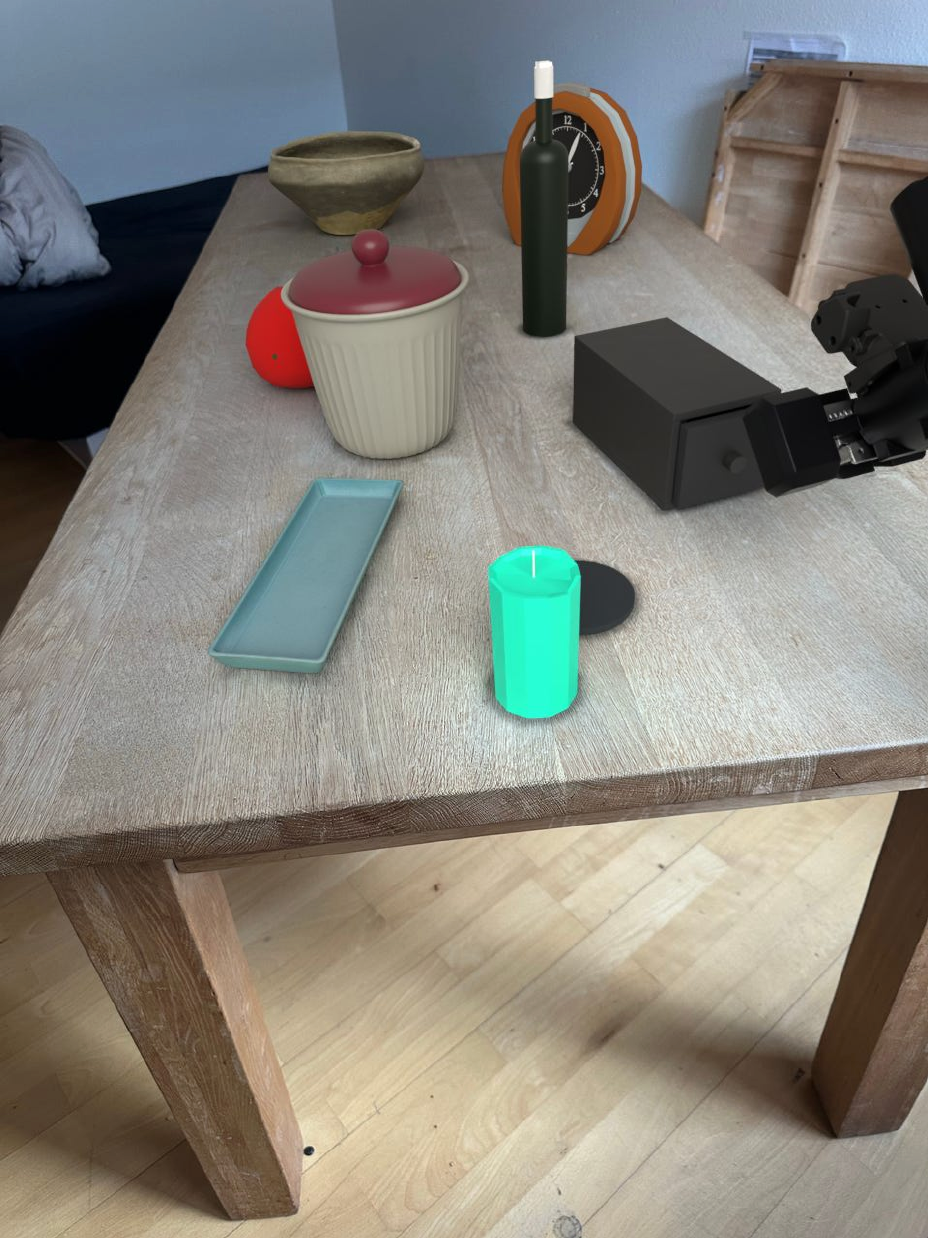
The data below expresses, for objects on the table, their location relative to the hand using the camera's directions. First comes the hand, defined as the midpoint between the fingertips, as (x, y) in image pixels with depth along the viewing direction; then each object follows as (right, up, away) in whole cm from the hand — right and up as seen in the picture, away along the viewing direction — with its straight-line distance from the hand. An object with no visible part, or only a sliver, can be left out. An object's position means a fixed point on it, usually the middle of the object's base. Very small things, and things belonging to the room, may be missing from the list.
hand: (810, 459), depth 64 cm
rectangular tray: (-38, -9, +9) cm, 40 cm away
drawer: (-6, +4, +19) cm, 20 cm away
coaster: (-17, -10, +4) cm, 20 cm away
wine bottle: (-16, +26, +49) cm, 58 cm away
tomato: (-45, +18, +41) cm, 63 cm away
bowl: (-47, +61, +93) cm, 121 cm away
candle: (-21, -17, -3) cm, 27 cm away
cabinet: (-6, +5, +21) cm, 23 cm away
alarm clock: (-9, +51, +78) cm, 94 cm away
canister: (-34, +8, +28) cm, 44 cm away
